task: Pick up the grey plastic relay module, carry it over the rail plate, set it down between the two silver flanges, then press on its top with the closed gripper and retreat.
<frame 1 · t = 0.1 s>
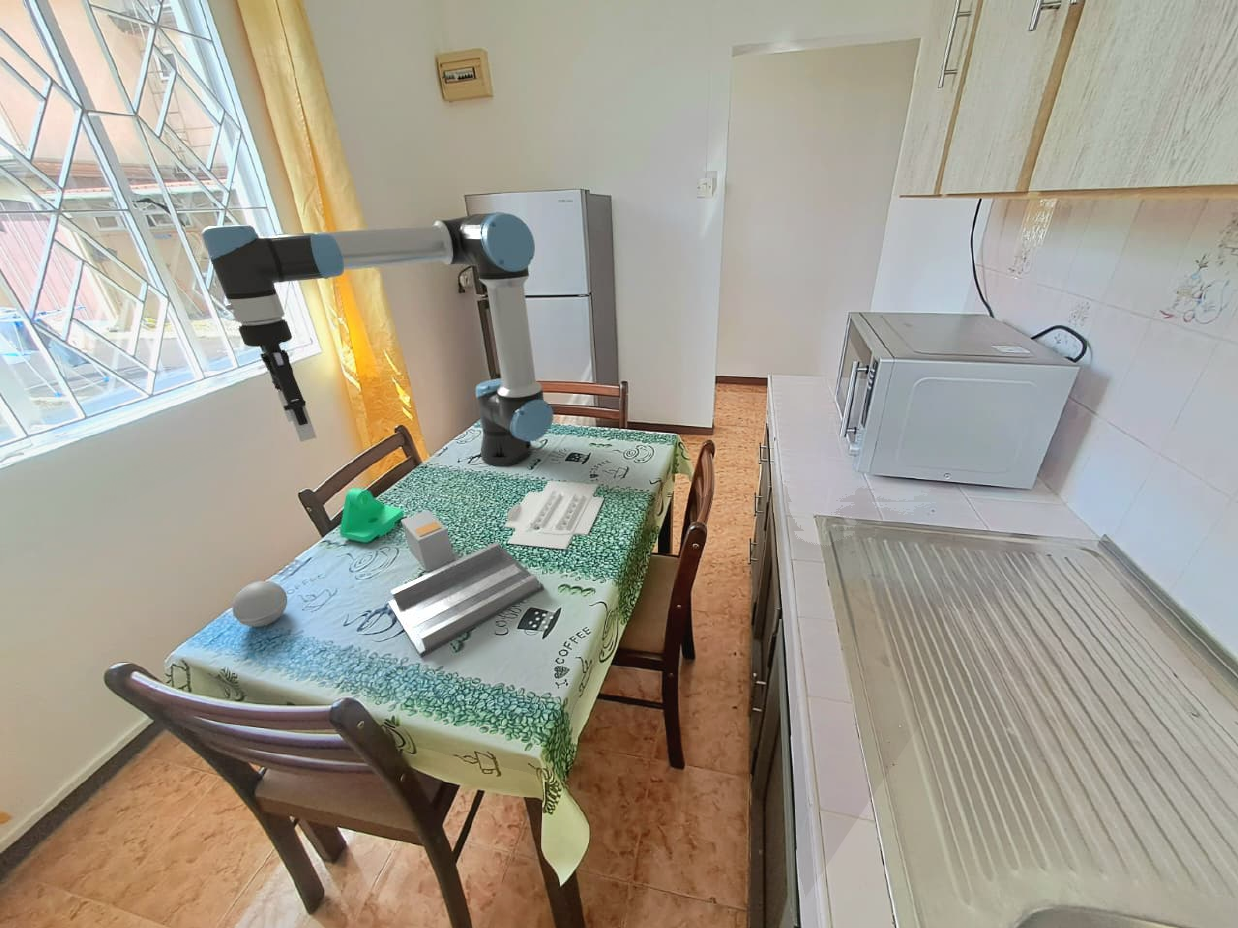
hand: (301, 429, 98), 28 cm above the table, fingers open, 13 cm apart
module: (431, 554, 105), on the table
rail: (467, 597, 93), on the table
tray: (556, 515, 118), on the table
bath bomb: (269, 620, 90), on the table
camera mount: (376, 529, 115), on the table
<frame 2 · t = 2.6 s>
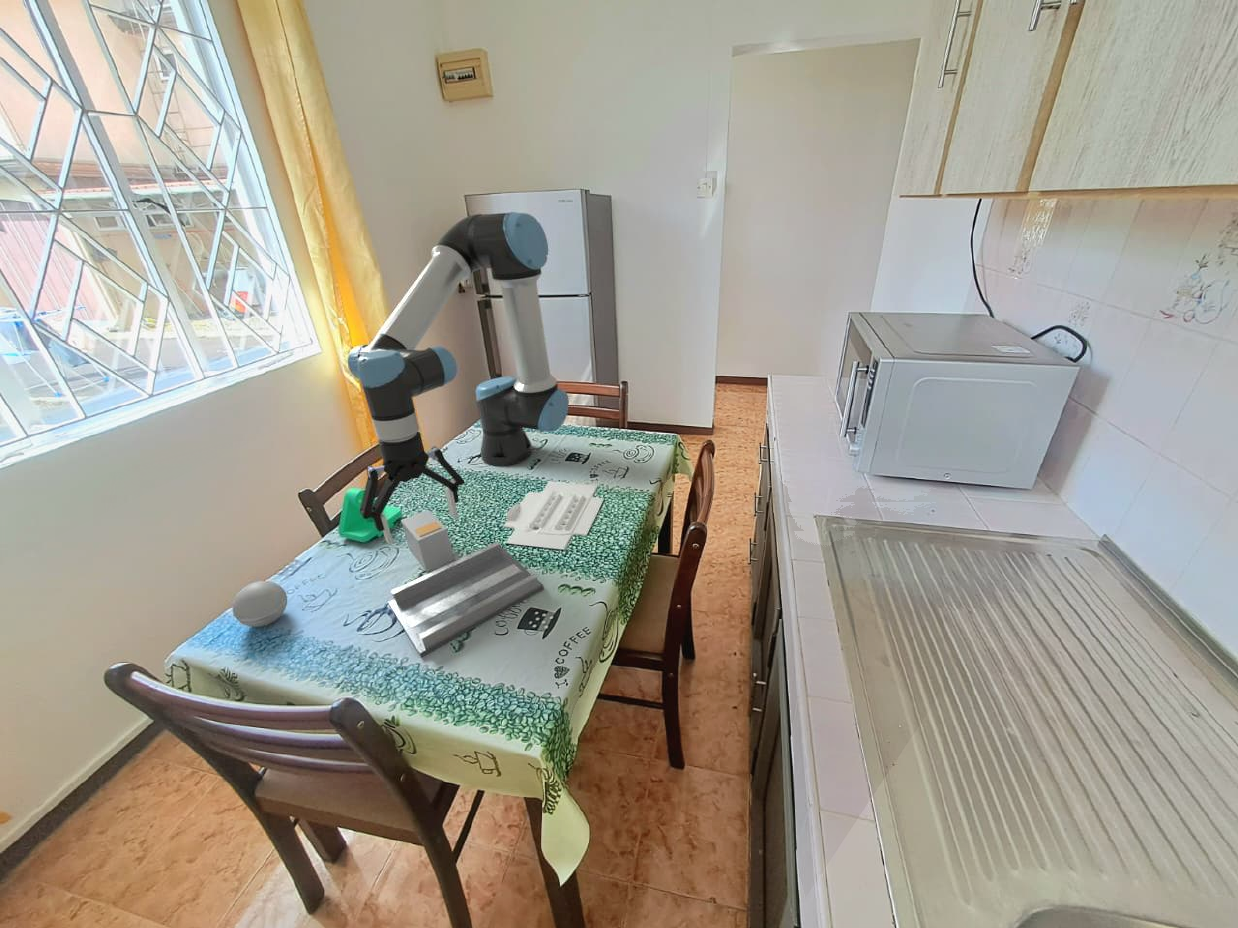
hand: (423, 528, 102), 7 cm above the table, fingers open, 13 cm apart
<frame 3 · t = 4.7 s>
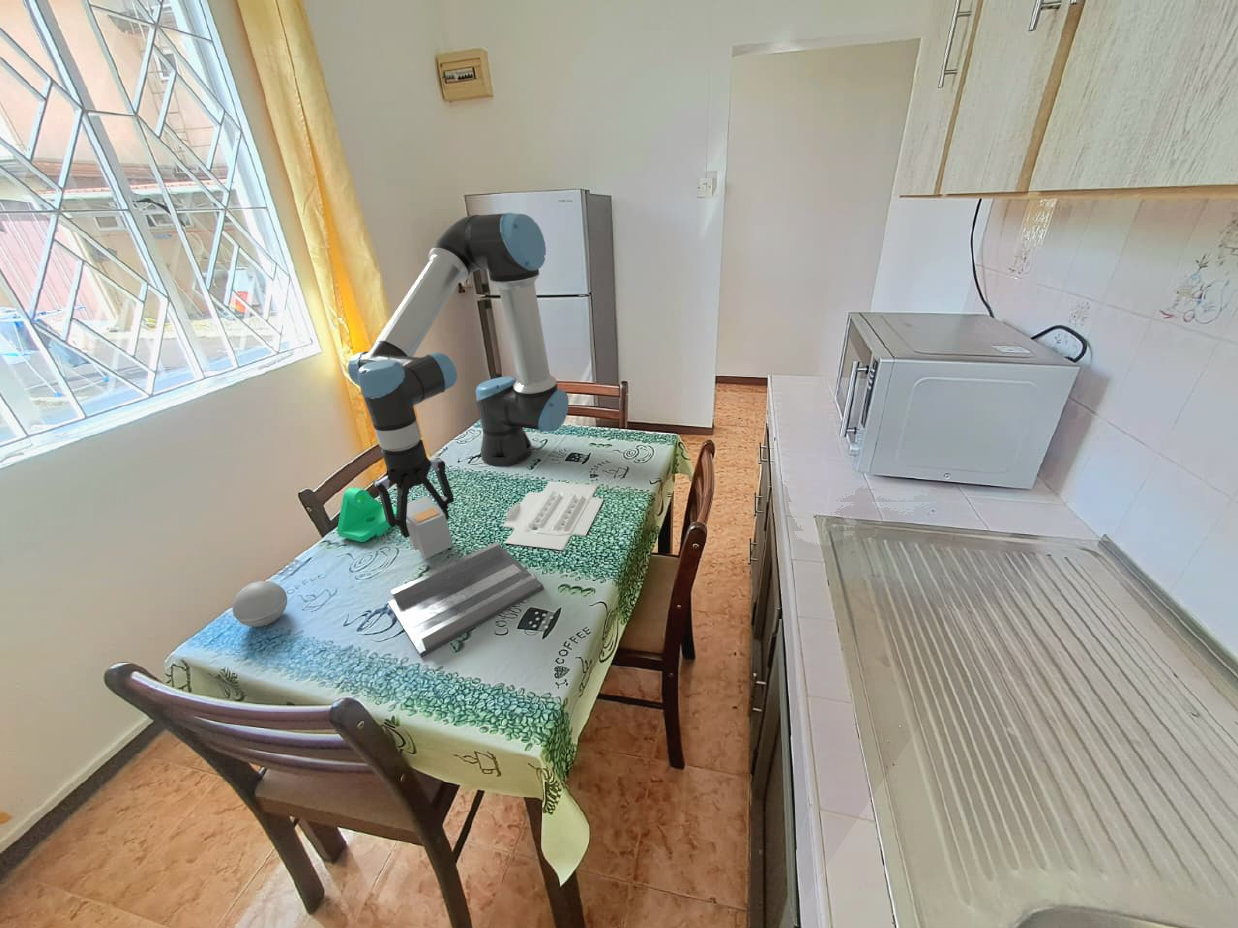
hand: (430, 539, 104), 3 cm above the table, fingers closed on module, 6 cm apart
module: (430, 541, 104), point 3 cm above the table, touching gripper
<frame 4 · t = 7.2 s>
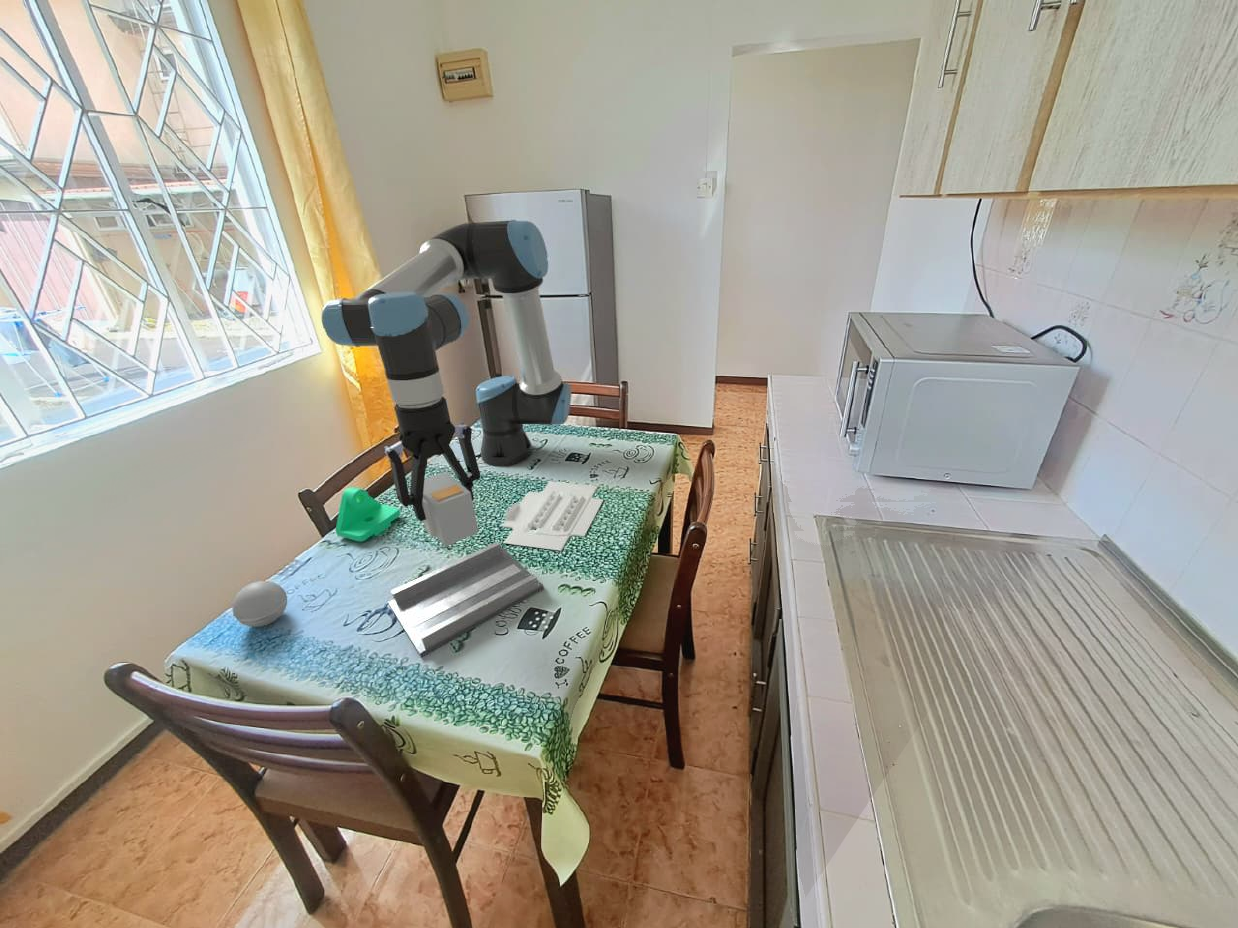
hand: (449, 525, 85), 17 cm above the table, fingers closed on module, 6 cm apart
module: (450, 527, 85), point 16 cm above the table, touching gripper
when the fingers open (2 cm above the table, at t = 9.5 s): module stays where it is, resting on rail.
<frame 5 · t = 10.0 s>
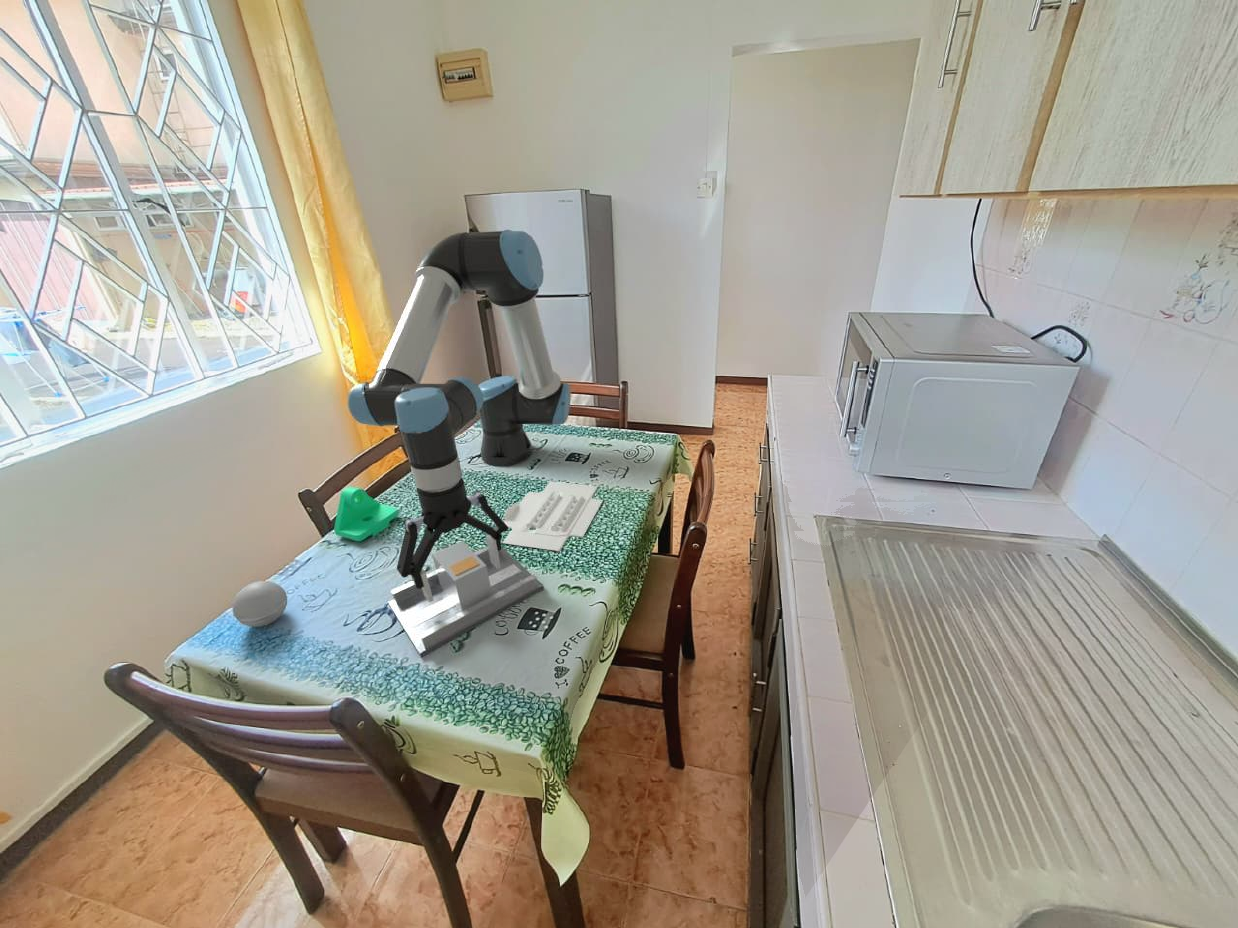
hand: (463, 581, 91), 4 cm above the table, fingers open, 13 cm apart
module: (466, 592, 92), point 1 cm above the table, touching rail
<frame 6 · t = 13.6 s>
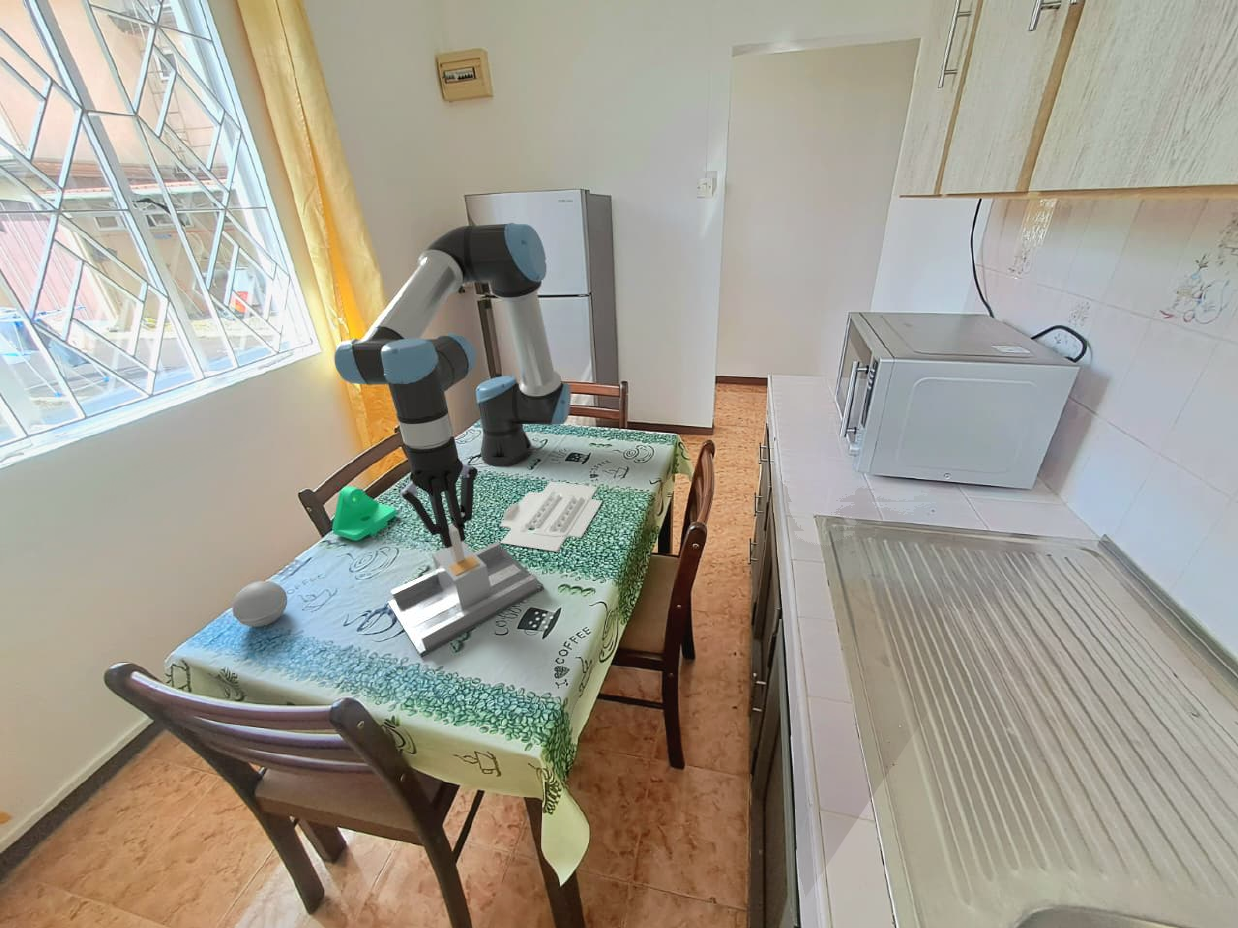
hand: (458, 557, 88), 10 cm above the table, fingers closed
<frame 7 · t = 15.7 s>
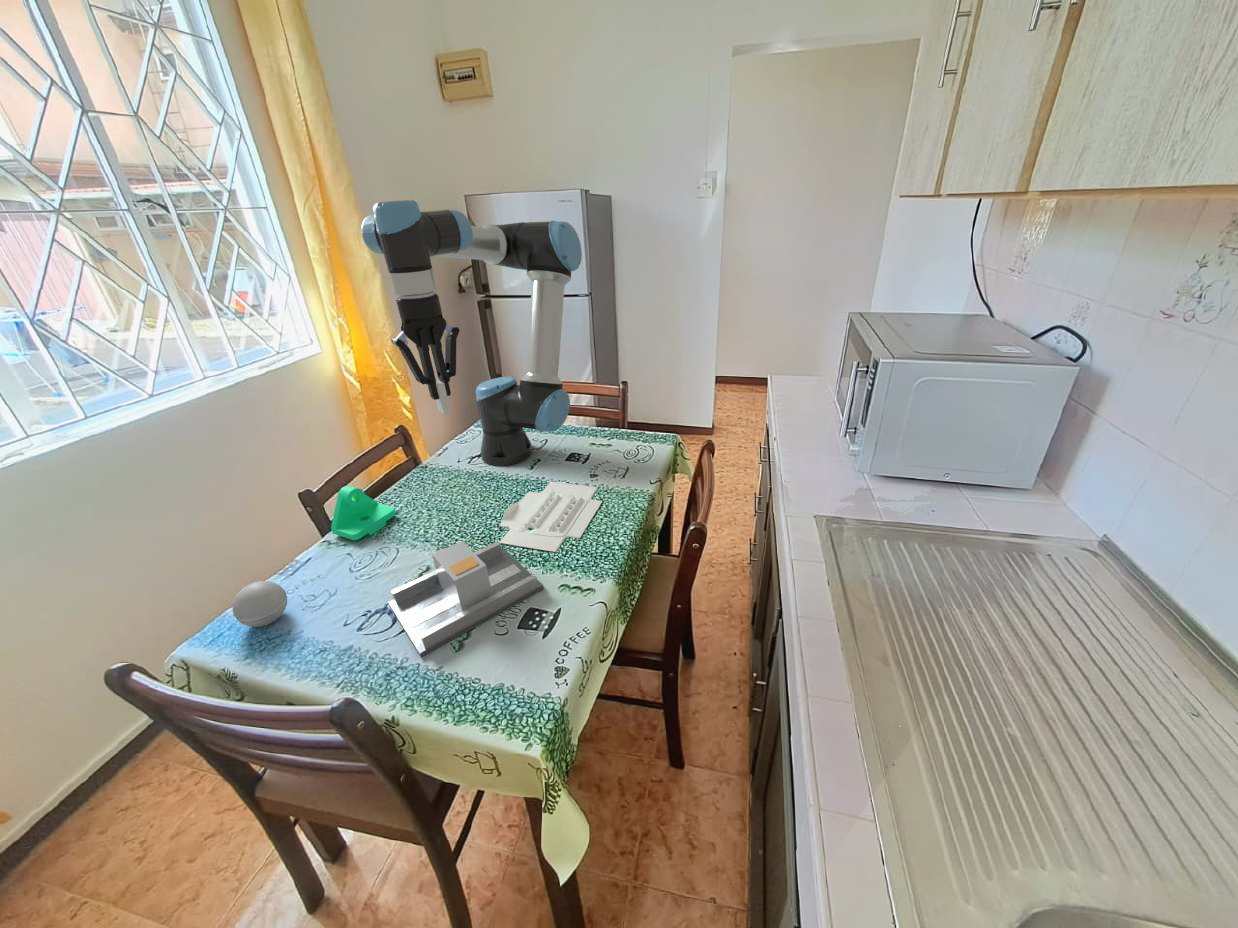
hand: (444, 411, 102), 28 cm above the table, fingers closed
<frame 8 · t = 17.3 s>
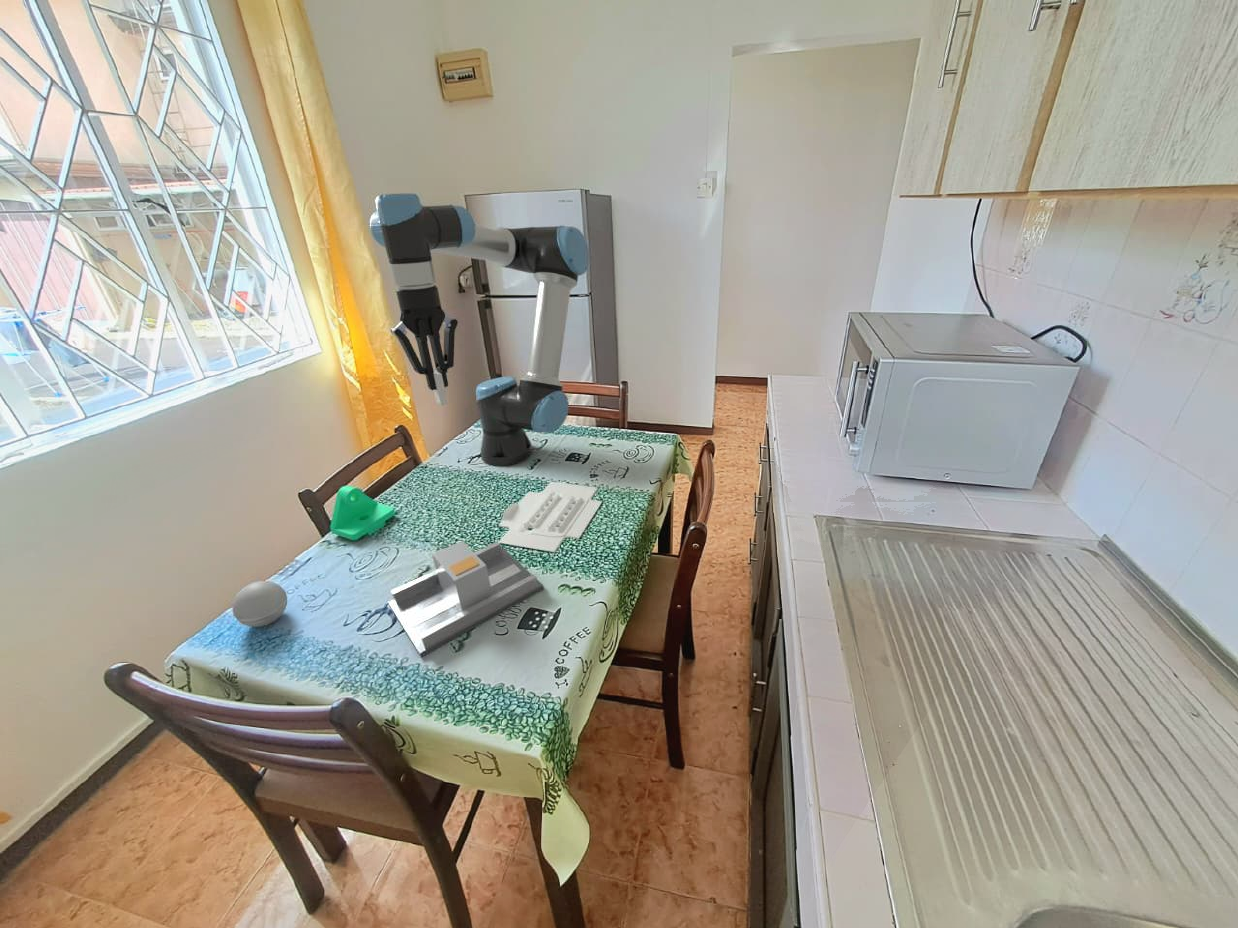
hand: (442, 402, 104), 29 cm above the table, fingers closed
at the end: module inside the target area on the rail (0.1 cm from its centre), point 1.1 cm above the rail's base; module tilted 0°; the gripper is holding nothing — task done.
